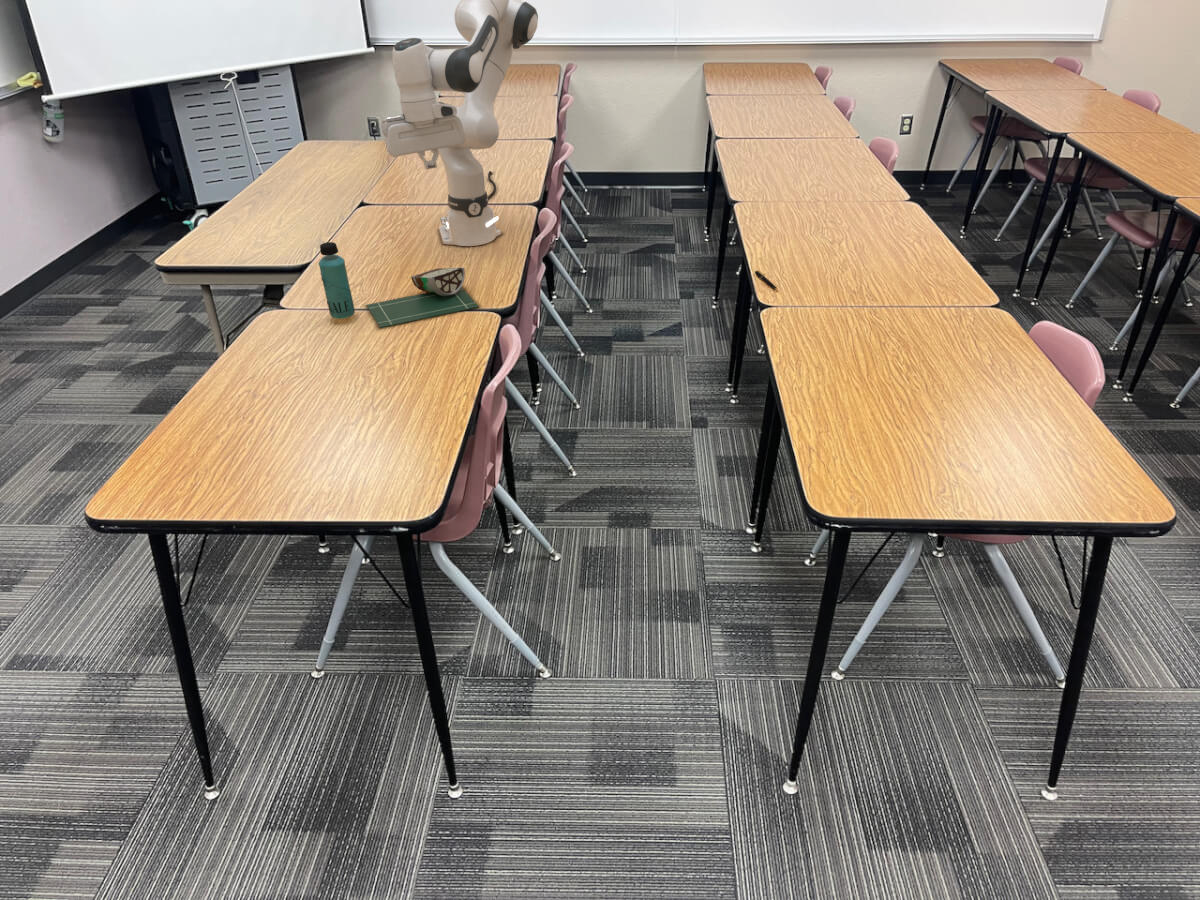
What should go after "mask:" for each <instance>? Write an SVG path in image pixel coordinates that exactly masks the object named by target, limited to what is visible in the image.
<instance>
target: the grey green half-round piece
mask: <svg viewBox="0 0 1200 900" xmlns="http://www.w3.org/2000/svg"><path fill="white" fill-rule="evenodd" d="M465 277H466V271H465V267H463V266H460V267H438V268H436V267H435V268H434V269H429V270H426V271H424V272H421V273H418V274H415V275H412V276H410V278H411V281H412V283H413V285H414V286H415V287H416V288H417V289H418V290H420V291H422V292H426V293H428V292H435V293H437V294H438V295H441V296H448V295H452V294H454V293H456V292H457V291H458V290H459V289H460V288H461V287H462V286H463V284H464V282H465Z"/></svg>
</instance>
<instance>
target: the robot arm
mask: <svg viewBox="0 0 1200 900" xmlns="http://www.w3.org/2000/svg"><path fill="white" fill-rule="evenodd" d="M453 17H454V23H455V27H456V29H457V30H458V32H459V34H460V35H461V36H462V38H463V39H464V40H466V41H467V42H468V45H466V46H465V47H460V48H444V49H442V48H441V49H438V48H437V49H435V48H433V47H430V46H429V45H426V44H425V43H424V40H423V39H421V38H419V37H410V38H405V39H402V40H400V41H397V42H396V43H395V44H394V45H393V47H392V65H393V71H394V77H395V82H396V85H397V86H398V89H399V103H400V106H401V112H402V114H399V115H398V114H397V115H395V116H387V117H385V119H384V120H383V121H382V122H381V131H382V134H383V136H384V140H385V147H386V152H387V154H388V155H390V156H391V157H393V158H396V157H403V156H407V155H413V154H417V156H418V158H419V159H420V160H421V161H422V162H423V167H424V169H425V170H426V171H427V170H432V169H436V168H438V163H437V160H438V157H439V156H440V159H441V162H442V164H443V168H444V171H445V175H446V181H447V190H448V194H447V206H448V207H447V208H446V210H445V211H444V215H443V216H441V217H440V219H439V220H440V224H441V225H440V226H438V231H439V235H440V238H441V241H442V244H443V245H452V246H453V245H454V246H458V247H459V246H460V247H477V246H483V245H486V244H488V243H491V242H493V241H494V240H496V238H497V237H499V236H500V235H502V231H501V230H500V229H499V228H497V226H496V221H498V220H499V216H496V217H495V212H494V209H493V208H492V207H491V206H489V199H490V198H491V197H492V196H494V194H495V193H496V190H497V185H496V183H495V182H494V181H493V180H492V178H491V175H493V172H492V171H491V170H490V171H488V174H487V178H488V181H489V182H490V183H492V186H493V190H492V191H491V193H490V194H489V195H488V192H487V191H486V183H485V174H484V173H485V172H484V167H483V164H482V163H481V162H480V161H479V160H478V159H477V158H476V157H475V155H474V154H473V152H472V150H475V151H478V150H489V149H491V148H493V147H494V145H496V143H497V141H498V138H499V135H500V127H499V122H498V120H497V118H496V116H495V114H494V113H495V112H494V108H495V107H494V105H495V102H496V98H497V96H498V93H499V91H500V88H501V87H502V84H503V82H504V80H505V78H506V75H507V73H508V70H509V67H510V64H511V61H512V58H513V57H512V56H513V53H514V50H519V49H520V48H521V47H522V46H524V45H526V44H527V43H529V42H530V41H532V39H533V38H534V36H535V33H536V32H537V28H538V21H539V15H538V12H537V8H535V6H533V5H532V4H531V3H529V2H527V1H523V0H460V1H459V2H458V4H457V6H456V8H455V11H454V16H453ZM436 92H458V93H462V94H463V96H464V100H463V102H462V104H461V105H452V104H449V103H445V102H442V101H437V96H436ZM428 151H430V153H432V157H431V159H430V160H427V159H426V158H425V156H426V152H428Z"/></svg>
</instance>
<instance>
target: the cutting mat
mask: <svg viewBox="0 0 1200 900" xmlns="http://www.w3.org/2000/svg"><path fill="white" fill-rule="evenodd" d="M366 307H367V309H368V311H369V312H370V314H371V316H372V318H373V319H374V321H375V322H376V324H377V326H378V327H379V329H385V328H389V327H390V328H391V327H394V326H400V325H403V324H410V323H412V322H413V323H414V322H418V321H422V320H428V319H432V318H433V319H434V318H437V317H442V316H446V315H451V314H456V313H460V312H465V311H470V310H474V309H475V310H476V309H479V308H480V306H479V305H478V304H477V302H476V301H475V300H474V299H473V298H472V297H471V296H470V294H469V293H468V292H467V291H466V290H465V289H464V288H463V287H462V286H461V288H460V289H459V290H458V291H457V292H456V293H454V294H452V295H448V296H441V295H438V294H437V293H435V292H424V293H419V294H414V295H409V296H404V297H399V298H393V299H389V300H384V301H379V302H375V303H369V304H366Z"/></svg>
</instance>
